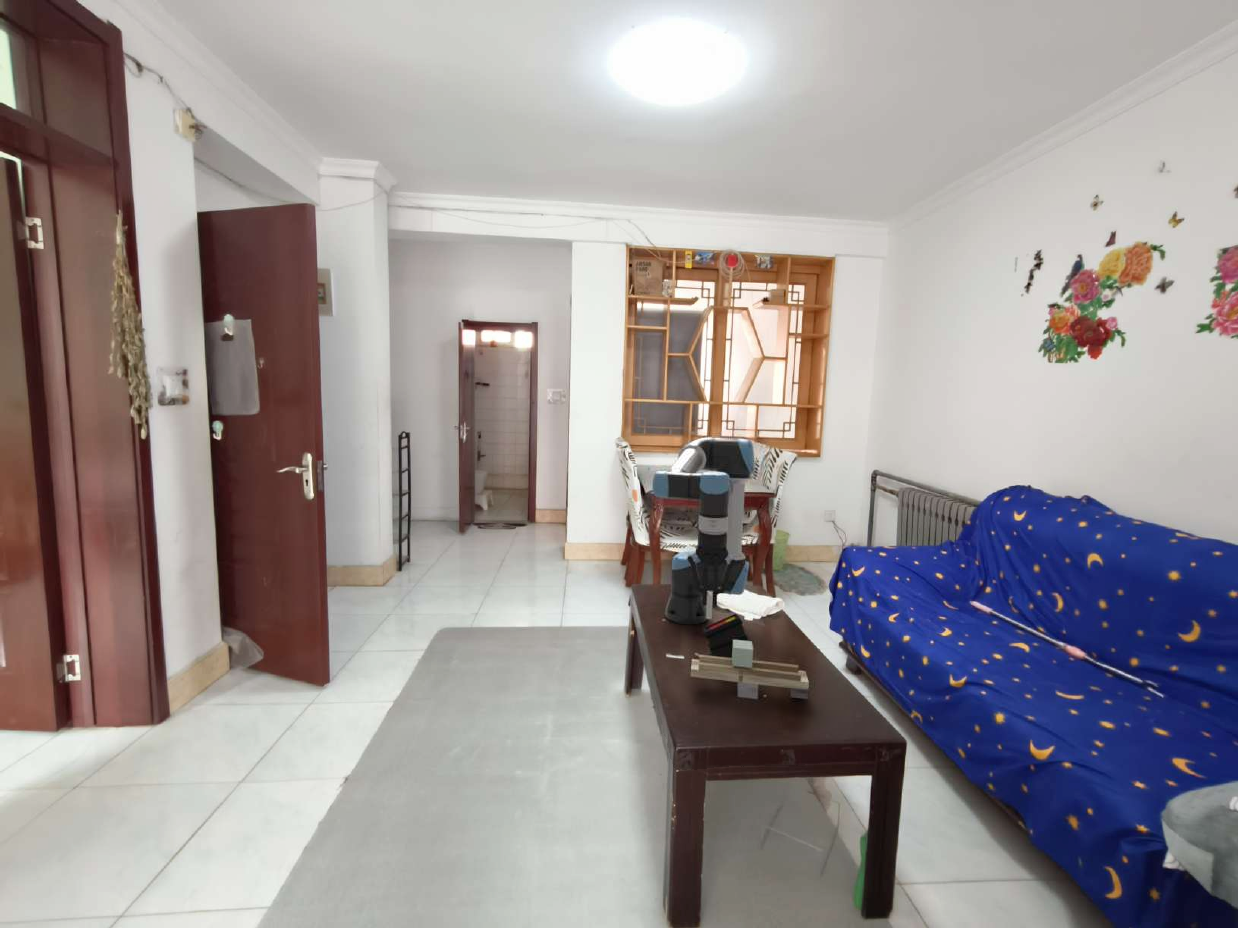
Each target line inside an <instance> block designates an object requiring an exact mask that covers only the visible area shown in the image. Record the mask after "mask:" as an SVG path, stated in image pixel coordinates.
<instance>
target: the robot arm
mask: <svg viewBox="0 0 1238 928" xmlns="http://www.w3.org/2000/svg"><path fill="white" fill-rule="evenodd" d="M755 470H756V469H755V453H754V446H753V443H752V441H751V440H750V439H746V438H739V437H738V438H735V437H734V438H730V437H728V438H727V437H710V436H709V437H701V438H699V439H695V440H692V441H691V442H689V443H687V444H685V445H684V446H683V447H682V448H681V449H680V451H679V453H678V456H677V459H676V460H675V462H674V463H673V464H672V465H671V467H670V468H669V469H668V471H666V470H663V471H662V470H660V471H656V472H655V473H654V475H653V479H652V493H653V495H654V496H655V497H657V498H664V499H674V500H675V499H676V500H687V501H688V500H689V501H690V500H691V501H699V511H698V530H699V531H698V532H697V547H696V549H695V550H689V551H688V550H687V551H682V552H679V553H677V554H675V555H674V556H673V558H672V562H671V564H672V565H671V578H670V579H671V582H670V583H671V586H670V589H671V590H670V595H669V599H668V601H667V604H666V606H665V614H664V615H665V617H666V619H668V621H671V622H674V623H677V624H680V625H681V624H682V625H699V624H702V623H705V622H706V621H707V620H713V619H712V618H713V607H717V606H718V605H717V604H718V595H720V594H722V595H723V594H725V595H729V596H731V595H738V596H739V595H742V594H744V592H745V588H746V584H747V578H748V573H749V568H750V562H748V561H746V555H745V554H744V553H743V552H742V544H743V528H744V527H743V526H744V507H745V489H746V487H745V486H746V483H747V482H748V481H749V480H750V478H751V475H752V474H754V473H755V472H756V471H755ZM701 471H705V472H702V473H698V472H701Z"/></svg>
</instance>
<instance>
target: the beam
mask: <svg viewBox="0 0 1238 928" xmlns="http://www.w3.org/2000/svg"><path fill="white" fill-rule="evenodd" d="M698 657H699V659H695V658H692V659H691V667H690V677H692V678H701V679H710V680H717V681H727V682H735V683H736V686H737V687H736V688H737V698H743V699H744V698H745V699H754V700H758V698H759V685H761V686H763V685H764V686H769V687H771V686H772V687H777V688H778V687H779V688H786V689H787V688H788V691H789V693H790V695H789V696H790V698H796V699H804V700H805V699H806V700H808V691H809V687H810V682H809V679H808V675H807V672H806V671H805V670H799V665H798V664H790V663H783V662H772V661H761V660H754V659H753V661H752V668H748V667H739V666H733V664H732V658H727V657H717V656H709V654H708V655H706V654H699V656H698Z"/></svg>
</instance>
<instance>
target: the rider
mask: <svg viewBox="0 0 1238 928" xmlns="http://www.w3.org/2000/svg"><path fill="white" fill-rule="evenodd" d="M753 656H754V646H753V641H750V640H747V641H742V640H733V650H732V664H733V666H739V667H748V668H752V661H753V660H754V657H753Z"/></svg>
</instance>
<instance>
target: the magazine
mask: <svg viewBox="0 0 1238 928" xmlns="http://www.w3.org/2000/svg"><path fill="white" fill-rule="evenodd" d="M702 629H703V635H704V636H705V638H706V640H708V643H707V647H708V648H709V652H710V653H709V654H708V656H717V657H727V658H732V650H733V640H742V641H749V638H748V636H747V634H746V633H745V628H744V626H743V621H742V619H741V618H740V616H739V615H738V614H737V613H733V614H731V615H729V616H728V617H725V618H722V619H721V620H718V621H716V622H714V623H712V624H709V625H707V626H705V627H703V628H702Z"/></svg>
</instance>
